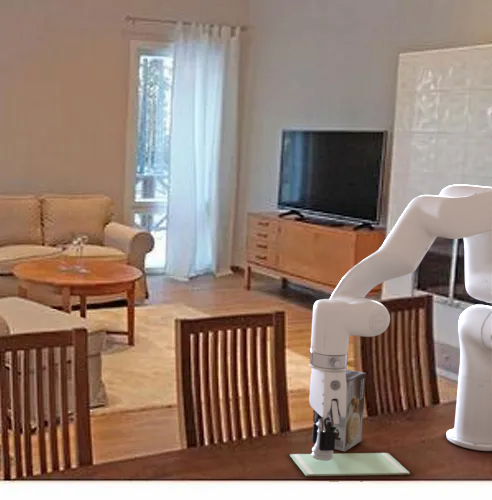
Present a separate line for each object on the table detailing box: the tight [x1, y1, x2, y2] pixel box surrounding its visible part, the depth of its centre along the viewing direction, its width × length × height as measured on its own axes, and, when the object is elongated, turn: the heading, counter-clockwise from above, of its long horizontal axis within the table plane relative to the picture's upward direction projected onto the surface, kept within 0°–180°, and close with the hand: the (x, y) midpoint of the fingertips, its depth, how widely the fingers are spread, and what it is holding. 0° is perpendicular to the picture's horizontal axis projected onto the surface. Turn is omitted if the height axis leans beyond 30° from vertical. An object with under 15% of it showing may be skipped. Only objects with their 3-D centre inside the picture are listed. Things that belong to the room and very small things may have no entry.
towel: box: [289, 452, 411, 477], centre depth 176 cm, size 22×11×1 cm, turn 97°
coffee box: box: [327, 368, 367, 453], centre depth 188 cm, size 9×6×16 cm
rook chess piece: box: [311, 418, 334, 461], centre depth 174 cm, size 4×4×8 cm
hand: (323, 445), depth 174 cm, fingers closed on rook chess piece, 3 cm apart
